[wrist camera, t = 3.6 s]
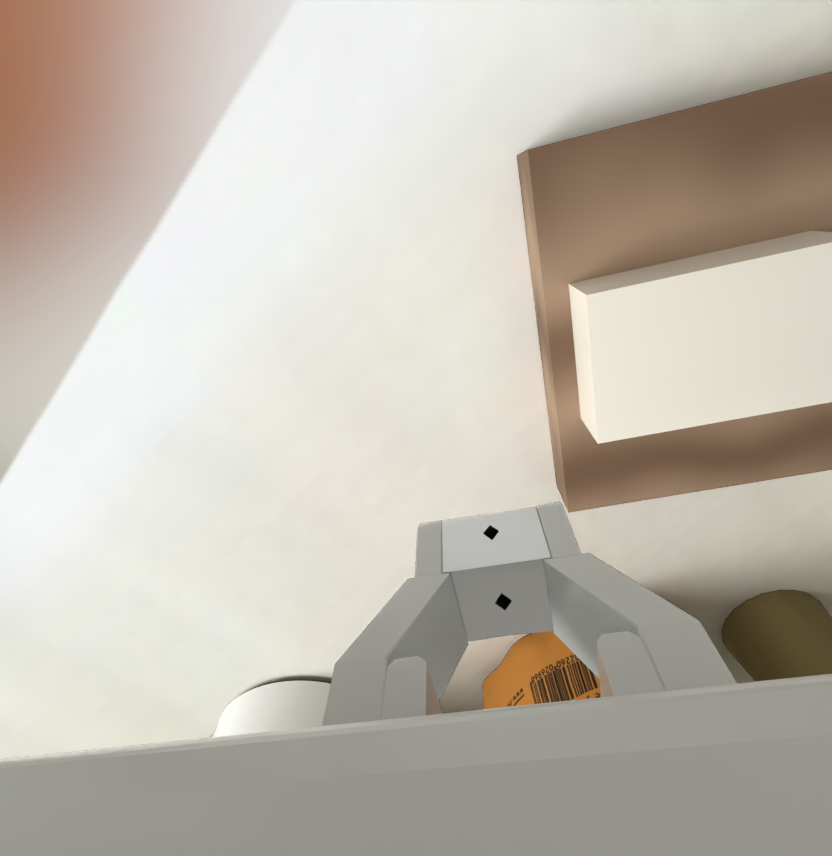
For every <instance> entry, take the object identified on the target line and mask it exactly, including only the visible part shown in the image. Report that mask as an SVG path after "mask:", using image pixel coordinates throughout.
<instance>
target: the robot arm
mask: <svg viewBox="0 0 832 856" xmlns="http://www.w3.org/2000/svg"><path fill="white" fill-rule="evenodd" d="M549 631H554V634H555V635H556V636H557V637H558V638H559V639H560V640H561V641H562V642H563V643H564V644H565V645H566V646H567V647H568V648H569V649H570V650H571V651H572V652H573V653H574V654H575V655H576V656H577V657H578V658H579V659H580V660H581V661H582V662H583V663H584V664H585V665H586V666H587V667H588V668H589V669H590V670H591V671H592V672H593V673H594V674H595V675H596V676H597V677H598V678H599V679H600V691H601V697H599V698H589V699H580V700H570V701H560V702H550V703H541V704H531V705H521V706H511V707H502V708H492V709H482V710H472V711H463V712H453V713H442V710H441V707H440V704H439V700H440V698H441V696H442V694H443V692H444V690H445V688H446V687H447V685H448V683H449V681H450V679H451V677H452V675H453V673H454V671H455V669H456V667H457V665H458V663H459V661H460V659H461V657H462V655H463V653H464V651H465V649H466V647H467V645H468V641H475V640H481V639H488V638H494V637H501V636H508V635H517V634H528V633H538V632H549ZM0 856H832V674H824V675H814V676H804V677H794V678H785V679H775V680H765V681H755V682H746V683H737V682H736V681H735V679H734V677H733V676H732V674H731V672H730V671H729V669H728V667H727V666H726V664H725V662H724V661H723V659H722V657H721V656H720V654H719V652H718V651H717V649H716V647H715V646H714V644H713V642H712V641H711V639H710V637H709V636H708V634H707V632H706V631H705V629H704V628H703V626H702V624H701V623H700V621H699V620H697V619H696V618H694V617H692V616H691V615H689V614H688V613H686V612H684V611H683V610H681V609H679V608H678V607H676V606H675V605H673V604H671V603H670V602H668V601H666V600H665V599H663V598H662V597H660V596H658V595H657V594H655V593H653V592H652V591H650V590H649V589H647V588H645V587H644V586H642V585H641V584H639V583H637V582H636V581H634V580H632V579H631V578H629V577H628V576H626V575H624V574H623V573H621V572H619V571H618V570H616V569H615V568H613V567H611V566H610V565H608V564H606V563H605V562H603V561H602V560H600V559H598V558H597V557H595V556H594V555H592V554H590V553H585V554H582V553H581V550H580V548H579V545H578V543H577V540H576V538H575V535H574V533H573V530H572V528H571V525H570V523H569V520H568V518H567V515H566V513H565V510H564V508H563V505H562V503H560V502H554V503H548V504H543V505H538V506H536V507H531V508H525V509H519V510H512V511H506V512H500V513H494V514H485V515H477V516H470V517H462V518H455V519H448V520H443V521H434V522H428V523H421V524H419V526H418V528H417V545H416V562H415V578H410V579H407V580H406V581H405V583H404V584H403V585H402V586H401V587H400V588H399V590H398V591H397V592H396V593H395V594H394V596H393V597H392V598H391V599H390V600H389V601H388V603H387V604H386V605H385V606H384V607H383V608H382V610H381V611H380V612H379V613H378V614H377V615H376V617H375V618H374V619H373V620H372V621H371V622H370V624H369V625H368V626H367V627H366V628H365V630H364V631H363V632H362V633H361V634H360V635H359V637H358V638H357V639H356V640H355V641H354V642H353V644H352V645H351V646H350V647H349V648H348V649H347V651H346V652H345V653H344V654H343V655H342V656H341V658H340V659H339V660H338V661H337V662H336V664H335V667H334V672H333V676H332V681H331V684H330V683H324V682H317V681H284V682H277V683H271V684H267V685H263V686H260V687H257V688H254V689H252V690H249V691H247V692H245V693H243V694H242V695H240V696H239V697H237V698H236V699H234V700H233V701H232V702H231V703H230V704H229V705H228V706H227V707H226V709H225V710H224V711H223V713H222V715H221V717H220V719H219V723H218V726H217V729H216V731H215V733H214V735H213V736H212V737H210V738H200V739H190V740H181V741H171V742H161V743H151V744H142V745H132V746H122V747H112V748H103V749H93V750H83V751H73V752H64V753H54V754H44V755H34V756H25V757H15V758H5V759H0Z"/></svg>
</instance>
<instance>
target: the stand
mask: <svg viewBox="0 0 832 856" xmlns="http://www.w3.org/2000/svg"><path fill="white" fill-rule="evenodd" d="M517 161H518V170H519V178H520V186H521V194H522V203H523V211H524V219H525V227H526V236H527V244H528V252H529V260H530V269H531V277H532V285H533V294H534V302H535V310H536V318H537V327H538V335H539V343H540V351H541V360H542V368H543V376H544V384H545V393H546V401H547V409H548V417H549V426H550V434H551V442H552V451H553V459H554V467H555V475H556V484H557V487H558V490H559V492H560V494H561V496H562V499H563V501H564V503H565V506H566V508H567V510H568V512H574V511H580V510H586V509H593V508H599V507H605V506H611V505H617V504H623V503H630V502H636V501H642V500H648V499H654V498H660V497H667V496H673V495H679V494H685V493H691V492H697V491H703V490H710V489H716V488H722V487H728V486H734V485H740V484H747V483H753V482H759V481H765V480H771V479H777V478H784V477H790V476H796V475H802V474H808V473H814V472H820V471H827V470H832V402H829V403H824V404H818V405H813V406H807V407H801V408H796V409H790V410H785V411H779V412H773V413H768V414H762V415H757V416H751V417H745V418H740V419H734V420H729V421H723V422H717V423H712V424H706V425H701V426H695V427H689V428H684V429H678V430H672V431H667V432H661V433H656V434H650V435H644V436H639V437H633V438H628V439H622V440H616V441H611V442H605V443H600V444H598V443H597V442H596V440H595V439H594V437H593V436H592V434H591V433H590V431H589V430H588V428H587V427H586V425H585V424H584V422H583V421H582V419H581V415H580V404H579V393H578V382H577V371H576V360H575V349H574V338H573V326H572V315H571V304H570V293H569V284H571V283H576V282H580V281H585V280H589V279H594V278H598V277H603V276H607V275H612V274H616V273H621V272H626V271H630V270H635V269H639V268H644V267H648V266H653V265H657V264H662V263H666V262H671V261H675V260H680V259H685V258H689V257H694V256H698V255H703V254H707V253H712V252H716V251H721V250H725V249H730V248H735V247H739V246H744V245H748V244H753V243H757V242H762V241H766V240H771V239H775V238H780V237H785V236H789V235H794V234H798V233H803V232H807V231H824V232H832V72H829V73H825V74H821V75H817V76H813V77H809V78H805V79H802V80H798V81H794V82H790V83H786V84H782V85H778V86H774V87H770V88H766V89H763V90H759V91H755V92H751V93H747V94H743V95H739V96H735V97H731V98H727V99H724V100H720V101H716V102H712V103H708V104H704V105H700V106H696V107H692V108H689V109H685V110H681V111H677V112H673V113H669V114H665V115H661V116H657V117H653V118H650V119H646V120H642V121H638V122H634V123H630V124H626V125H622V126H618V127H614V128H611V129H607V130H603V131H599V132H595V133H591V134H587V135H583V136H579V137H576V138H572V139H568V140H564V141H560V142H556V143H552V144H548V145H544V146H540V147H537V148H533V149H529V150H526V151H524V152H523V153H521V154H519V155H517Z"/></svg>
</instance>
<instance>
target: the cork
mask: <svg viewBox="0 0 832 856" xmlns="http://www.w3.org/2000/svg"><path fill="white" fill-rule="evenodd" d="M722 639H723V643H724V644H725V646H726V647H727V649H728V650H729V651H730V653H731V654H732V655H733V656H734V657H735V658H736V660H737V661H738V662H739V663H740V664H741V665H742V667H743V668H744V669H745V670H746V671H747V672H748V674H749V675H750V676H751V677H752V678H753V679H754V681H765V680H775V679H785V678H794V677H804V676H814V675H824V674H832V618H831V616H830V615H829V613H828V612H827V611H826V609H825V608H824V607H823V605H822V604H821V602H820V601H819V600H817V599H816V598H814V597H813V596H811V595H810V594H807V593H803V592H800V591H796V590H778V591H773V592H769V593H764V594H761V595H758V596H756V597H754V598H752V599H749V600H747V601H746V602H744V603H743V604H741V605H740V606H739V607H737V608H736V609H735V610H734V611H733V612H732V613H731V614H730V616H729V617H728V618H727V619H726V621H725V623H724V626H723V629H722Z"/></svg>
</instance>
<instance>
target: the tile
mask: <svg viewBox="0 0 832 856" xmlns="http://www.w3.org/2000/svg"><path fill="white" fill-rule="evenodd" d="M569 293H570V304H571V315H572V326H573V338H574V349H575V360H576V371H577V382H578V393H579V404H580V415H581V419H582V421H583V422H584V424H585V425H586V427H587V428H588V430H589V431H590V433H591V434H592V436H593V437H594V439H595V440H596V442H597V443H598V444H600V443H605V442H611V441H616V440H622V439H628V438H633V437H639V436H644V435H650V434H656V433H661V432H667V431H672V430H678V429H684V428H689V427H695V426H701V425H706V424H712V423H717V422H723V421H729V420H734V419H740V418H745V417H751V416H757V415H762V414H768V413H773V412H779V411H785V410H790V409H796V408H801V407H807V406H813V405H818V404H824V403H829V402H832V232H824V231H807V232H803V233H798V234H794V235H789V236H785V237H780V238H775V239H771V240H766V241H762V242H757V243H753V244H748V245H744V246H739V247H735V248H730V249H725V250H721V251H716V252H712V253H707V254H703V255H698V256H694V257H689V258H685V259H680V260H675V261H671V262H666V263H662V264H657V265H653V266H648V267H644V268H639V269H635V270H630V271H626V272H621V273H616V274H612V275H607V276H603V277H598V278H594V279H589V280H585V281H580V282H576V283H571V284H569Z"/></svg>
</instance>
